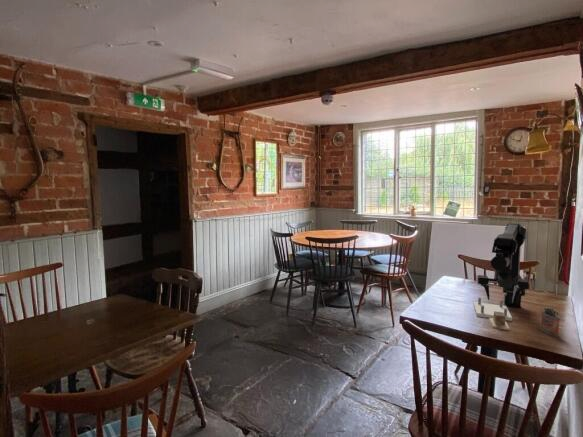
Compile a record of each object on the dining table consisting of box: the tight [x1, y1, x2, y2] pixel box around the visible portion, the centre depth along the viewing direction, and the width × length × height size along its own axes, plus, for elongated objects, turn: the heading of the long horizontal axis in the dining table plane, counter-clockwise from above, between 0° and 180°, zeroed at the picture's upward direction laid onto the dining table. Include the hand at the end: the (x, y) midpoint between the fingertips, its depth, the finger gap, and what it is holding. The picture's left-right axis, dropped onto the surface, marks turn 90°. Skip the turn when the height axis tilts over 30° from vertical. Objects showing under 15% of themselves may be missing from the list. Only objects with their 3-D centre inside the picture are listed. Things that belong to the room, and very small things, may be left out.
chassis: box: [473, 297, 513, 322], centre depth 167 cm, size 14×16×4 cm
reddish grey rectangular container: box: [539, 306, 561, 337], centre depth 145 cm, size 8×3×10 cm, turn 5°
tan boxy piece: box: [488, 311, 510, 331], centre depth 152 cm, size 6×9×5 cm, turn 159°
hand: (500, 301), depth 152 cm, fingers open, 9 cm apart
